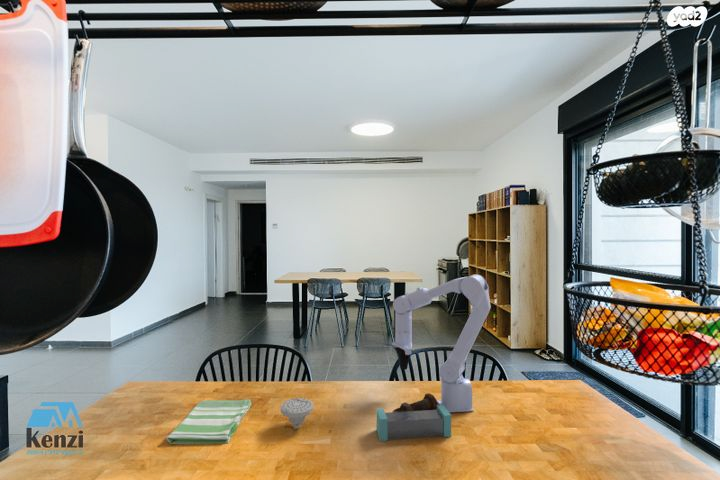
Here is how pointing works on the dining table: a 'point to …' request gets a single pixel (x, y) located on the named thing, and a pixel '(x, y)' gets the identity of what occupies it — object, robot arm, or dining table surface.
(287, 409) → the showerhead
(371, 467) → the dining table surface
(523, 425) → the dining table surface
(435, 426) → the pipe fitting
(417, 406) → the bolt
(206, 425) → the dish towel
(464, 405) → the robot arm
